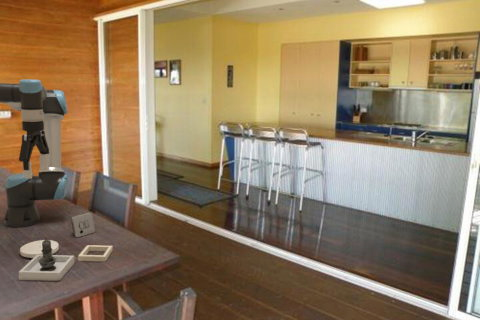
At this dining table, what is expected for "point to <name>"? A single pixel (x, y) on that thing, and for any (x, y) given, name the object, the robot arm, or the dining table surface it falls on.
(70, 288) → the dining table surface
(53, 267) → the chess piece
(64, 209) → the dining table surface
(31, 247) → the cream gear
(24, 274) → the parts tray
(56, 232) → the dining table surface
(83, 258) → the socket collar
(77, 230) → the electrical switch
